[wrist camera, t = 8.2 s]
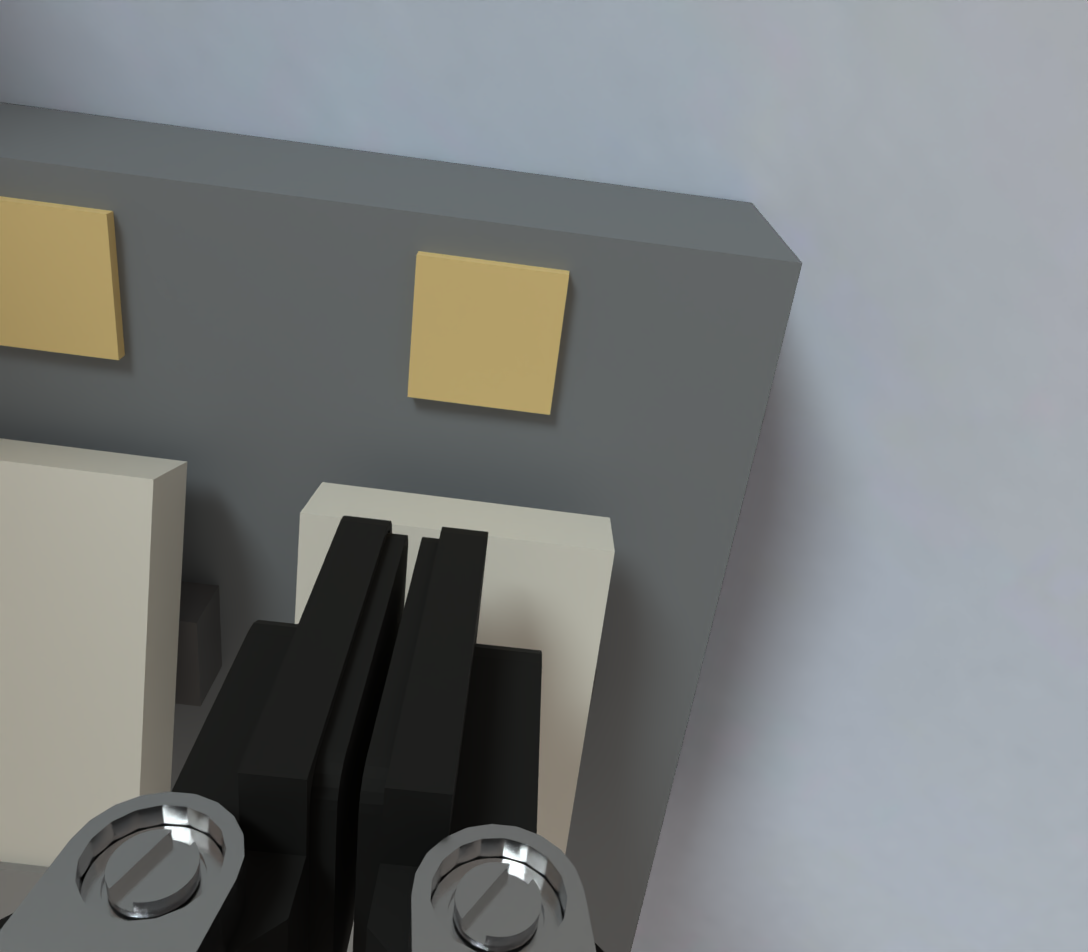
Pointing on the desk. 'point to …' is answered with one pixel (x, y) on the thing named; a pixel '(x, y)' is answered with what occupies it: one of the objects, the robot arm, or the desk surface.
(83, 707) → the block
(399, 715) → the robot arm
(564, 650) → the rocker
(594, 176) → the desk surface
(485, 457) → the console
